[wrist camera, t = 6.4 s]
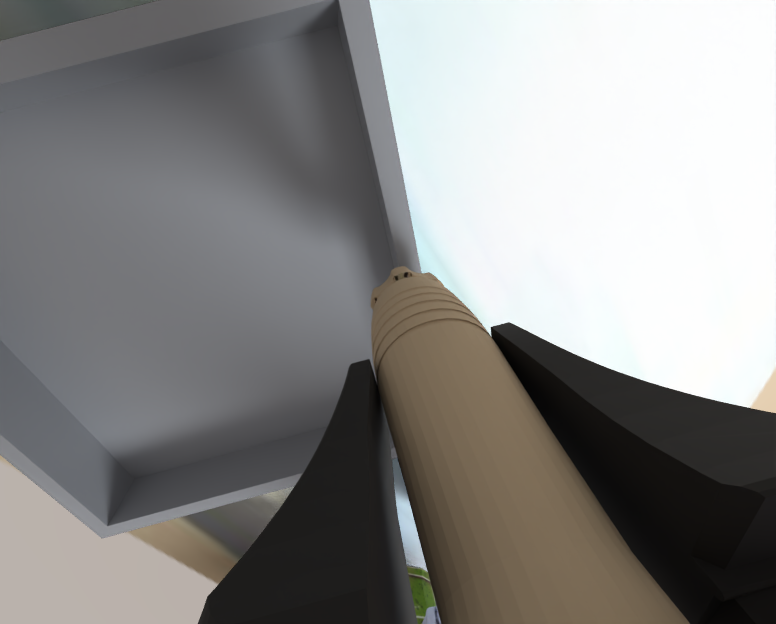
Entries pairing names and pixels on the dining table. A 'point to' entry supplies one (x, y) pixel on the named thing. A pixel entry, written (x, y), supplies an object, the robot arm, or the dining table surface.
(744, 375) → the dining table surface
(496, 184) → the dining table surface
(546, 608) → the handle
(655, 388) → the robot arm
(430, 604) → the lantern
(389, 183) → the bin
